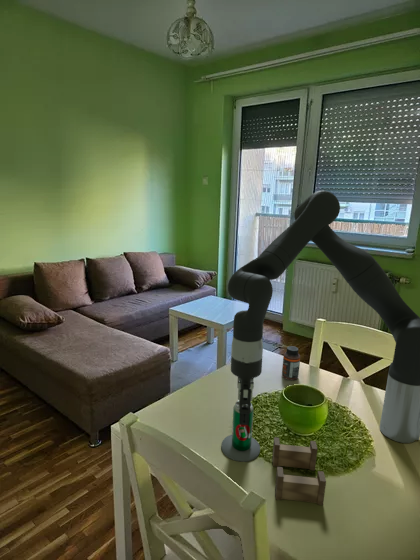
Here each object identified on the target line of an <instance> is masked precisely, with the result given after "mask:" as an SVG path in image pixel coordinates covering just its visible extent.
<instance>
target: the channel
mask: <svg viewBox="0 0 420 560" xmlns="http://www.w3.org/2000/svg"><path fill="white" fill-rule="evenodd" d="M272 446H273V448H272V457H271V458H272V466H273V467H276V473H275V474H276V475H275V485H274V494H275V501H282V500H286V501H287V500H288V501H298V502H307V503H313V504H314V503H315V504H316V505H320V506H324V500H325V493H326V486H327V480H326V476H325V472H324V471H323V470H322V471H320V470H318V471H317V475H316V477H308V476H301V475H291V474H284V469H283V467H287V468H288V467H290V468H298V469H308V470H309V471H316V465H317V464H316V463H317V456H318V455H317V454H318V445H317V443H316V441H315V440H310V441H309V446H300V445H293V444H292V445H289V444H282V443H280V437H276V436H275V437H273V445H272Z"/></svg>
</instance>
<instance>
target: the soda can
mask: <svg viewBox="0 0 420 560" xmlns="http://www.w3.org/2000/svg"><path fill="white" fill-rule="evenodd" d="M242 406H248V405H246V404H243V405H242ZM239 407H240V401H239V400H237V401H236V402H235V404H234V406H233V408H232V409H233V411H232V413H233V414H232V429H231V430H232V431H231V432H232V433H231V435H232V446H233V447H234V448H235V449H236V450H238V451H247V450H248V449H250V447H251V441H252V438H253V437H252V436H253V425H254V424H253V422H254V407H253V404H252V403H251V404H250V408H251V412H250V414H249V424H248V425H240V423H239V421H240V412H239Z"/></svg>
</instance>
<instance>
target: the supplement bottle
mask: <svg viewBox="0 0 420 560" xmlns="http://www.w3.org/2000/svg"><path fill="white" fill-rule="evenodd" d="M282 358H283V359H282V369H281V377H283V379H285V380H289V381H295V380H298V379H299V374H300V373H299V372H300V363H301V355H300V353H299V348H298V347H296V346H293V345H290V346H287V347H286V351H285V352H284V354H283V357H282Z"/></svg>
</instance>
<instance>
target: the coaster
mask: <svg viewBox="0 0 420 560" xmlns="http://www.w3.org/2000/svg"><path fill="white" fill-rule="evenodd" d="M260 445H261V444H259V442H258V441H257V440H256V439H255V438H254V437H252V441H251V447H250V449H248V450H247V451H238V450H236V449H235V448H234V447H233V446H232V434H229V435H227V436H225V437H224V438H223V440H222V441H221V451H222V453H223V454H224V455H225V457H227V458H228V459H230V460H232V461H235V462H242V463H243V462H246V463H247V462H250V461H253V460H255V459H256V458H257V457H259V454H260V452H261V446H260Z"/></svg>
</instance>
